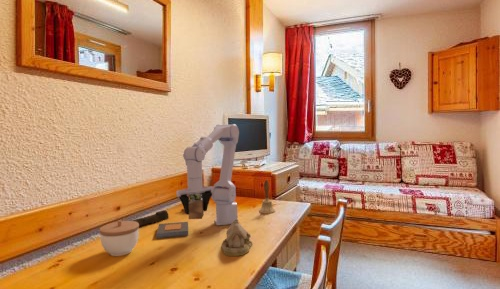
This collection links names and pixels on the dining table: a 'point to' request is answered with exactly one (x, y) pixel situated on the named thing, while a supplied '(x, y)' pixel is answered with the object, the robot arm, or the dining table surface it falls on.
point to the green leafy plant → (195, 197)
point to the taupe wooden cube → (196, 209)
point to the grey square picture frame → (172, 230)
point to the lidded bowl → (119, 237)
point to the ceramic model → (236, 240)
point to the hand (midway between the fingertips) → (196, 212)
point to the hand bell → (267, 201)
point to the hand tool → (152, 218)
